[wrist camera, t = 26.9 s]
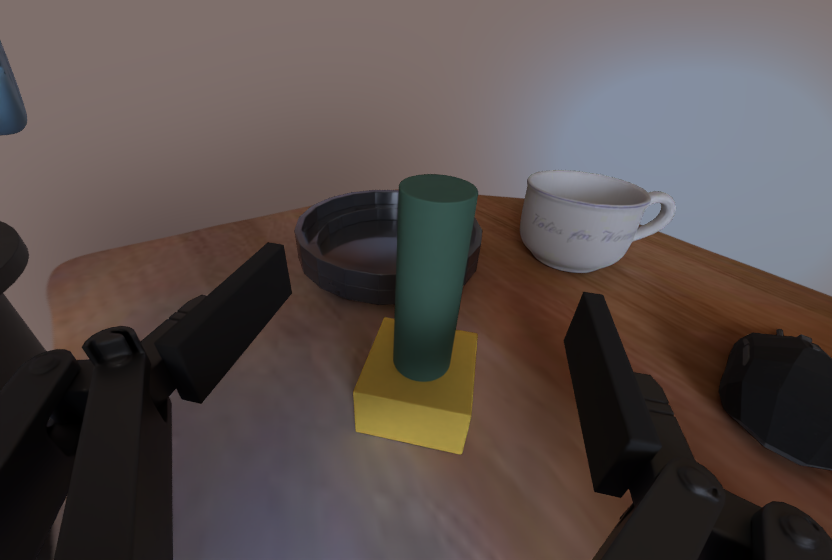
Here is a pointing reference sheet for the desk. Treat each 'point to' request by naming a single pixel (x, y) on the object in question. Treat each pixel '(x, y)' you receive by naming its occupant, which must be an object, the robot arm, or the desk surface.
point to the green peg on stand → (424, 324)
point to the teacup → (586, 218)
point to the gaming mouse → (782, 395)
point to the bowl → (359, 245)
